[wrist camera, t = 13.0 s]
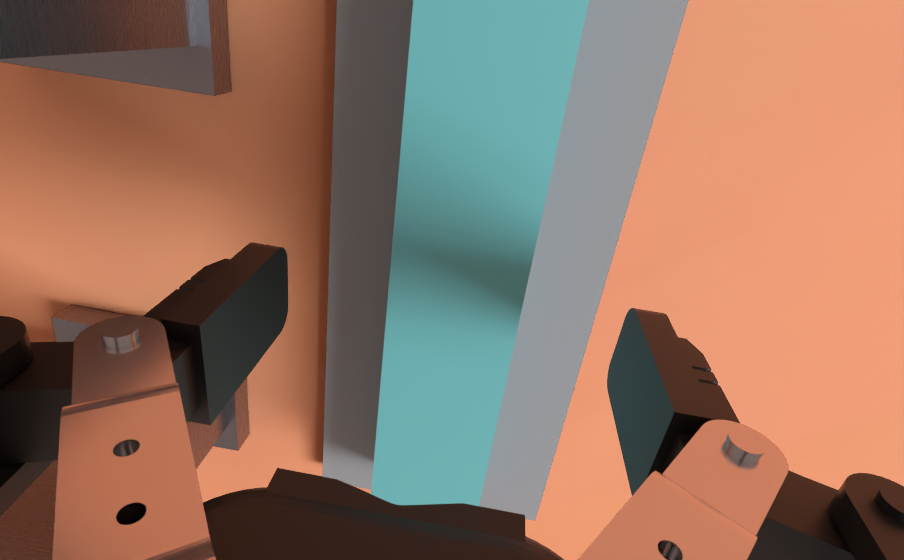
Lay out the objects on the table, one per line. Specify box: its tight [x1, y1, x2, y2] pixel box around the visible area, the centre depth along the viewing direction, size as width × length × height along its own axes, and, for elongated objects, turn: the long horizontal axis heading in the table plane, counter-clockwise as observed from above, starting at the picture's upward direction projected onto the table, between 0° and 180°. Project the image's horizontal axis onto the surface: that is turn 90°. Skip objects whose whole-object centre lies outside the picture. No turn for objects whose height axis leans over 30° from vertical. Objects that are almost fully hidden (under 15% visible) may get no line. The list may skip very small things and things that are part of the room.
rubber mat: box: [322, 0, 688, 521], centre depth 17 cm, size 23×9×1 cm, turn 172°
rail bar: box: [371, 0, 589, 506], centre depth 15 cm, size 20×4×4 cm, turn 173°
